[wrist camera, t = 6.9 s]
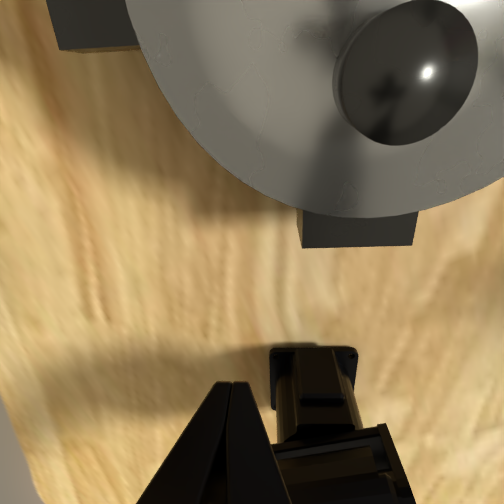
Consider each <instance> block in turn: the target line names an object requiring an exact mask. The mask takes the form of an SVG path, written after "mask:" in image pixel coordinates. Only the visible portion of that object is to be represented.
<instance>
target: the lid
mask: <svg viewBox="0 0 504 504" xmlns="http://www.w3.org/2000/svg"><path fill="white" fill-rule="evenodd" d="M125 2H126V6H127V10H128V14H129V16H130V19H131V22H132V25H133V28H134V31H135V33H136V36H137V39H138V42H139V45H140V47H141V50H142V53H143V55H144V57H145V59H146V61H147V64H148V66H149V68H150V70H151V72H152V74H153V76H154V78H155V80H156V82H157V84H158V87H159V88H160V90H161V92H162V93H163V95H164V96H165V98H166V100H167V101H168V103H169V104H170V106H171V108H172V109H173V111H174V113H175V114H176V116H177V117H178V119H179V120H180V121H181V122H182V124H183V125H184V126H185V127H186V129H187V130H188V131H189V132H190V134H191V135H192V136H193V138H194V139H195V140H196V141H197V143H198V144H199V145H200V146H201V147H202V148H203V149H204V150H205V151H206V152H208V153H209V154H210V155H211V156H212V157H213V158H214V159H215V160H216V161H217V162H218V163H219V164H220V165H221V166H222V167H224V168H225V169H226V170H228V171H229V172H230V173H231V174H233V175H234V176H235V177H237V178H238V179H239V180H240V181H242V182H243V183H245V184H247V185H248V186H250V187H252V188H254V189H255V190H257V191H259V192H260V193H262V194H264V195H266V196H268V197H270V198H272V199H275V200H277V201H280V202H282V203H284V204H287V205H289V206H292V207H295V208H299V209H302V210H306V211H309V212H313V213H317V214H324V215H330V216H337V217H349V218H375V217H386V216H397V215H402V214H407V213H412V212H417V211H422V210H426V209H429V208H432V207H435V206H438V205H442V204H445V203H448V202H451V201H454V200H456V199H459V198H461V197H463V196H466V195H468V194H470V193H473V192H475V191H477V190H480V189H482V188H484V187H486V186H488V185H489V184H491V183H493V182H495V181H497V180H499V179H500V178H502V177H504V0H125Z"/></svg>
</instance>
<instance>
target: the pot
mask: <svg viewBox="0 0 504 504" xmlns="http://www.w3.org/2000/svg"><path fill="white" fill-rule="evenodd" d="M46 2H47V6H48V10H49V13H50V17H51V21H52V24H53V28H54V32H55V35H56V39H57V43H58V47H59V50H61V51H69V52H76V53H98V52H114V51H130V50H141V47H140V45H139V42H138V39H137V36H136V33H135V31H134V28H133V25H132V22H131V19H130V16H129V14H128V10H127V6H126V2H125V0H46ZM418 212H419V211H417V212H412V213H407V214H402V215H397V216H386V217H375V218H349V217H337V216H330V215H324V214H317V213H313V212H309V211H306V210H302V209H299V208H297V227H298V232H299V237H300V241H301V246H302V248H338V247H375V246H412V243H413V238H414V233H415V228H416V223H417V217H418Z"/></svg>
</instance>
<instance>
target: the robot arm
mask: <svg viewBox="0 0 504 504" xmlns="http://www.w3.org/2000/svg"><path fill="white" fill-rule="evenodd" d="M276 354H277V356H275V355H276ZM349 354H352V355H349ZM269 360H270V389H271V408H272V409H273V410H275V411H276V417H277V443H276V444H270V441H269V438H268V435H267V432H266V430H265V427H264V424H263V421H262V418H261V415H260V413H259V410H258V407H257V404H256V401H255V398H254V396H253V393H252V390H251V387H250V384H249V383H248V382H247V381H234V382H233V383H232V382H230V381H218V382H216V383H215V384H214V385H213V387H212V388H211V390H210V391H209V393H208V394H207V396H206V397H205V399H204V400H203V402H202V403H201V405H200V407H199V408H198V410H197V411H196V413H195V414H194V416H193V417H192V419H191V420H190V422H189V423H188V425H187V426H186V428H185V429H184V431H183V433H182V434H181V436H180V437H179V439H178V440H177V442H176V443H175V445H174V446H173V448H172V449H171V451H170V452H169V454H168V455H167V457H166V459H165V460H164V462H163V463H162V465H161V466H160V468H159V469H158V471H157V472H156V474H155V475H154V477H153V478H152V480H151V481H150V483H149V485H148V486H147V488H146V489H145V491H144V492H143V494H142V495H141V497H140V498H139V500H138V501H137V503H136V504H416V502H415V499H414V496H413V493H412V490H411V488H410V485H409V482H408V479H407V477H406V474H405V472H404V469H403V466H402V464H401V461H400V459H399V456H398V453H397V451H396V448H395V446H394V443H393V440H392V438H391V435H390V433H389V430H388V427H387V425H386V423H383V424H377V426H375V427H370V428H363V424H362V421H361V417H360V414H359V410H358V406H357V403H356V399H355V396H354V385H355V378H356V370H357V363H358V353H357V350H356V349H355V348H352V347H331V348H273V349H271V350H270V353H269Z"/></svg>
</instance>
